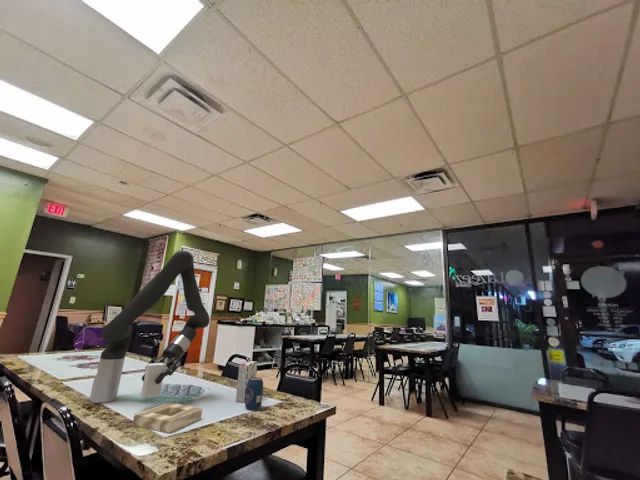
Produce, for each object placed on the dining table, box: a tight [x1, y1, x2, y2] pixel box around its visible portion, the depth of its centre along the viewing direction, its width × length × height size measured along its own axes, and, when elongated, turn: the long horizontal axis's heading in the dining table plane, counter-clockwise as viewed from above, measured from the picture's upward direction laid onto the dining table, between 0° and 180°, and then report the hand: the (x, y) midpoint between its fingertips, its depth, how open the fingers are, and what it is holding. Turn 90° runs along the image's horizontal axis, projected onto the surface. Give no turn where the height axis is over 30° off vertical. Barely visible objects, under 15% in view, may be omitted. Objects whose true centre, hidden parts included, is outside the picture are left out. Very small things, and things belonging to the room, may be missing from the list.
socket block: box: [131, 402, 203, 434], centre depth 108 cm, size 16×16×4 cm
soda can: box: [244, 376, 264, 411], centre depth 129 cm, size 7×7×12 cm
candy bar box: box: [235, 360, 258, 404], centre depth 142 cm, size 11×5×16 cm, turn 168°
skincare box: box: [140, 363, 165, 399], centre depth 120 cm, size 6×4×12 cm
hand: (149, 381), depth 118 cm, fingers closed on skincare box, 6 cm apart
